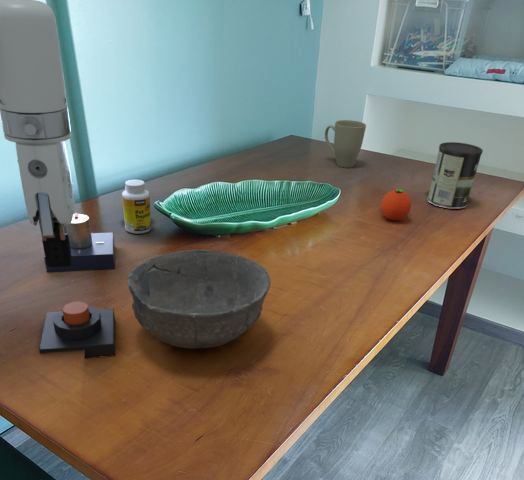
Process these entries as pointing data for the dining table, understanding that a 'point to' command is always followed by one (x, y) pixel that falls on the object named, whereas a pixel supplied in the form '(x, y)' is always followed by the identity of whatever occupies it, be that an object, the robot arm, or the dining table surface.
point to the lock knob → (79, 231)
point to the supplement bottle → (136, 207)
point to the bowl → (198, 296)
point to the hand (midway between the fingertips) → (59, 263)
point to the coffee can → (454, 174)
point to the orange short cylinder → (76, 313)
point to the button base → (80, 334)
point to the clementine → (396, 204)
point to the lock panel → (91, 255)
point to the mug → (346, 141)
